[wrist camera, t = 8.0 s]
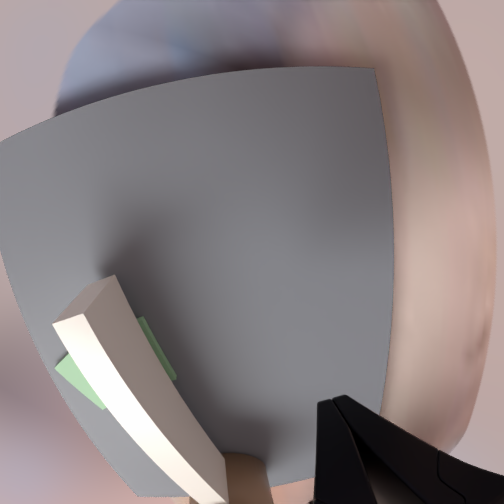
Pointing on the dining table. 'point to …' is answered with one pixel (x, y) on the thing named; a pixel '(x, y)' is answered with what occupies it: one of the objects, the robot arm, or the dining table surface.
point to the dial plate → (215, 251)
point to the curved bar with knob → (152, 400)
